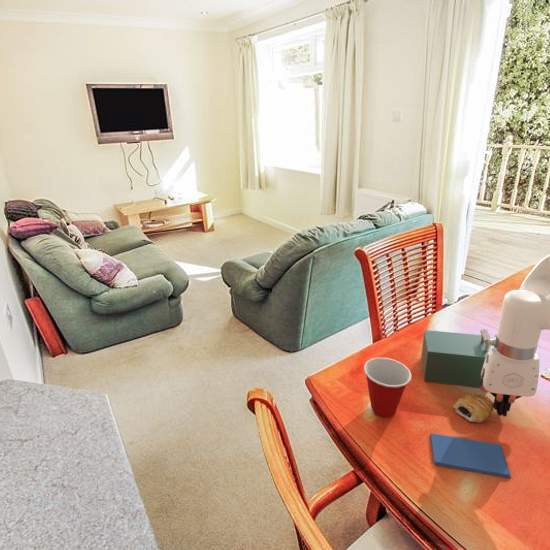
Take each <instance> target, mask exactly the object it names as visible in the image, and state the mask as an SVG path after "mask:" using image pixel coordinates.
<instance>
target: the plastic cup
mask: <svg viewBox="0 0 550 550" xmlns="http://www.w3.org/2000/svg"><path fill="white" fill-rule="evenodd" d="M363 369H364V374H365V376H366V382H367V390H368V397H369V400H370V407H371V411H372V412H373V414H375V415H376V416H378V417H379V418H383V419H384V418H386V419H388V418H392V417H394V416H395V414H396V413H397V410H398V407H399V405H400V402H401V399H402V396H403V393H404V390H405V389H406V387H407V385H408V384H409V383H410V382H411V380H412V372H411V371H410V369H409V368H408V367H407V366H406V365H405V364H404V363H402V362H400V361H398V360H397V359H393V358H388V357H373V358H370V359H369V360H367V361H366V362H365V363H364V366H363Z"/></svg>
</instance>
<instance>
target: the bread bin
mask: <svg viewBox="0 0 550 550" xmlns="http://www.w3.org/2000/svg"><path fill="white" fill-rule="evenodd" d="M420 360H421V368H422V374H423V375H422V376H423V381H424V382H428V383H436V384H444V385H454V386H460V387H469V388H477V389H480V387H479V384H480V382H481V380H482V379H481V372H482V368H483V365H484V361H485V360H481V359H472V358H462V357H453V356H443V355H433V354H428V353H427V347H426V340H425V334H424V333H423V339H422V347H421V356H420Z"/></svg>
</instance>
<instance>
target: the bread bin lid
mask: <svg viewBox="0 0 550 550" xmlns="http://www.w3.org/2000/svg"><path fill="white" fill-rule="evenodd" d="M424 334H425V340H426V347H427V353H428V354H433V355H443V356H453V357H462V358H472V359H481V360H485V359H486V356H487V354H488V351H489V349H490V348H491V346H492V345H488V339H492V338H491V337H490V334H489V332H488V329H486V328H482V329H480V334H476V333H475V334H473V333H464V332H452V331H451V332H450V331H441V330H430V329H429V330H428V329H424V330H423V335H424Z"/></svg>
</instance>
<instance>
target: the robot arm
mask: <svg viewBox="0 0 550 550" xmlns="http://www.w3.org/2000/svg"><path fill="white" fill-rule="evenodd" d="M544 330H545V331H546V330H547V331H550V254H548V255H546V256H544V257H543V258H541V260H539V262H537V264H536V265H535V266H534V267H533V268H532V270H531V271H530V272H529V274H528V275H526V277H525V279H524V280H523V282H522V283H521V285H520V287H519V289H515V290H511V291H508V292H507V293H506V294H505V295H504V297H503V300H502V305H501V310H500V315H499V321H498V326H497V330H496V334H495V335H494V338H491V339H488V345H492V346H491V348H490V349H489V351H488V354H487V356H486V359H485V361H484V365H483V368H482V372H481V379H482V380H481V382H480V384H479V387H480V388H479V390H480V391H483V392H486V393H490V395H491V396H492V397H493V398H494V400H493V403H494V404H493V406H494V407H493V410H496V413H497V416H503V417H507V416H508V415H507V414H508V412H510V411H511V410H510V409H511V407H512V404H513V403H515V401H516V400H518V399H520V398H522V397H527V398H529V397H533V396H535V395H536V393H537V391H538V386H539V385H538V384H539V377H540V355H539V354H538V353H537V348H538V346H539V341H540V336H541V333H542V331H544Z"/></svg>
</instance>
